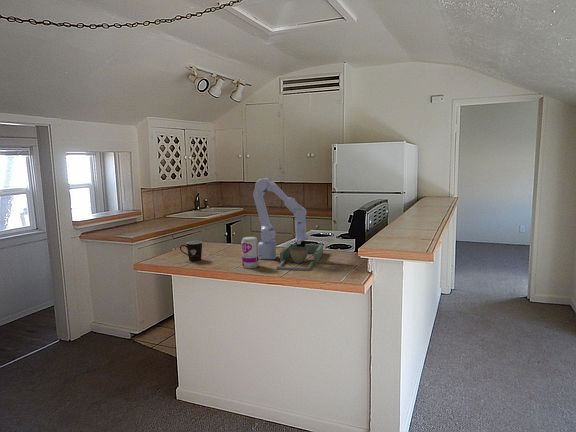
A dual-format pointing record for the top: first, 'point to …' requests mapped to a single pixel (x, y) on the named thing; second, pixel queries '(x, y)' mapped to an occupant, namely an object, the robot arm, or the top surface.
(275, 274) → the top surface
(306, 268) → the edging
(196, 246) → the coffee mug
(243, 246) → the supplement can
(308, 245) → the cold frame
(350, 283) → the top surface
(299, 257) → the flower pot
